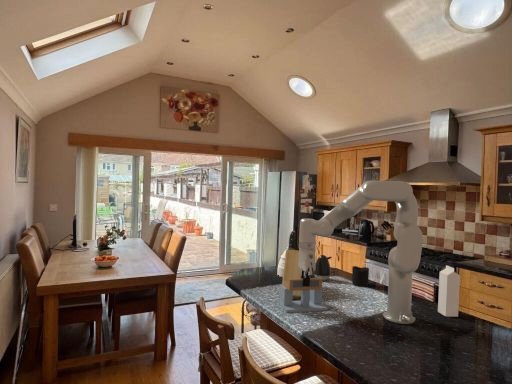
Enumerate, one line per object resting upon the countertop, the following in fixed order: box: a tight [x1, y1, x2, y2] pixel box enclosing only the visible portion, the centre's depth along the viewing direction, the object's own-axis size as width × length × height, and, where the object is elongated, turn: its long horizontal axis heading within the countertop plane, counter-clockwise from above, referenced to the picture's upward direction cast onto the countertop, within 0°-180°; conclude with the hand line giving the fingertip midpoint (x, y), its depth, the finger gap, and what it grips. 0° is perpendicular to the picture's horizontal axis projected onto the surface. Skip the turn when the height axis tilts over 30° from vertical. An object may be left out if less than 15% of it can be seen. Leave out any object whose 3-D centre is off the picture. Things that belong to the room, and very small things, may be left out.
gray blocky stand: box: [278, 284, 329, 314], centre depth 156 cm, size 11×20×9 cm, turn 104°
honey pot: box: [276, 246, 289, 278], centre depth 213 cm, size 13×13×18 cm
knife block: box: [281, 230, 301, 301], centre depth 180 cm, size 11×35×31 cm, turn 170°
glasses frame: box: [282, 277, 323, 291], centre depth 157 cm, size 9×16×5 cm, turn 104°
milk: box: [437, 265, 461, 318], centre depth 154 cm, size 6×6×22 cm
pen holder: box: [351, 265, 370, 288], centre depth 197 cm, size 9×9×10 cm
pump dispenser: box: [313, 254, 333, 282], centre depth 205 cm, size 10×10×15 cm
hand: (305, 285), depth 154 cm, fingers closed on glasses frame
